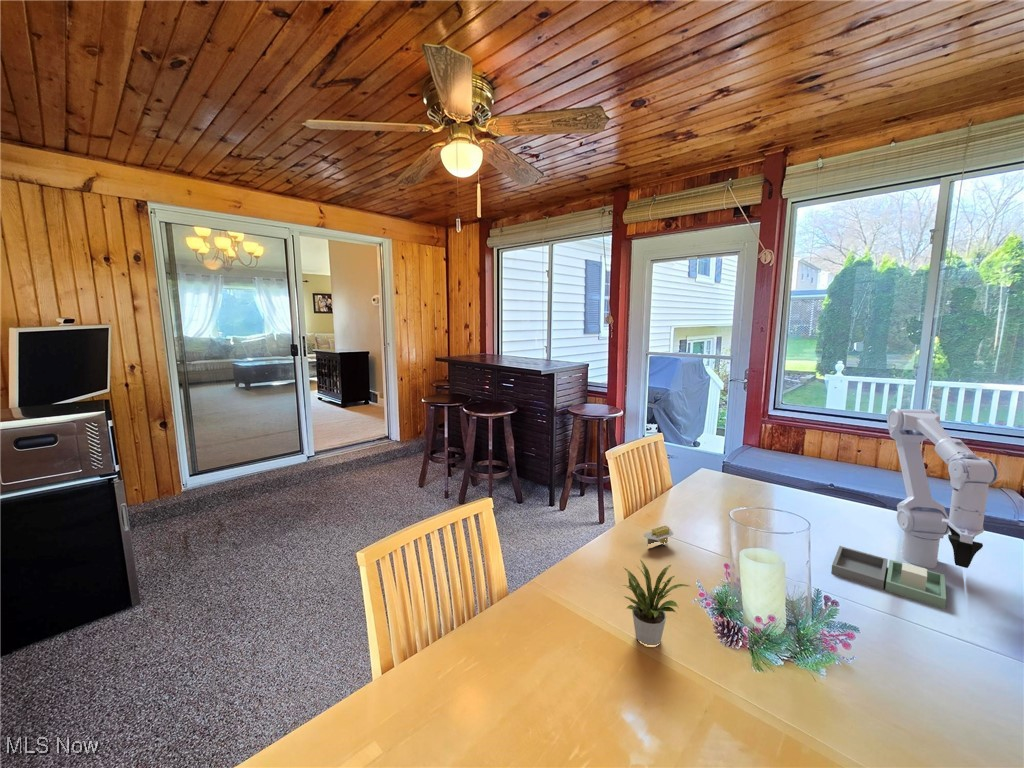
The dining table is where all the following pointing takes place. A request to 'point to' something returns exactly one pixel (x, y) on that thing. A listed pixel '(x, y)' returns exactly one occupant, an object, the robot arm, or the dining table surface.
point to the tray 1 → (860, 567)
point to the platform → (659, 535)
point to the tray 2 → (931, 595)
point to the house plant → (650, 606)
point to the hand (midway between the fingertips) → (960, 559)
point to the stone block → (913, 576)
